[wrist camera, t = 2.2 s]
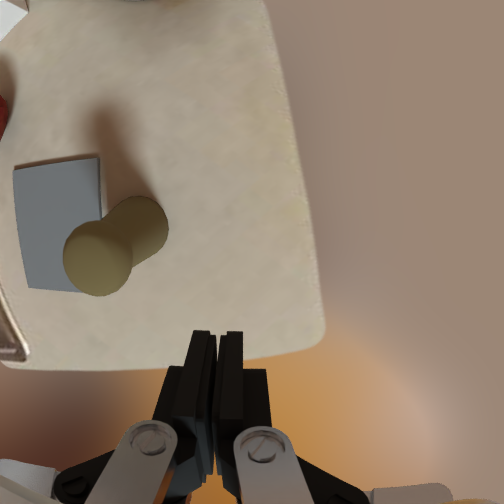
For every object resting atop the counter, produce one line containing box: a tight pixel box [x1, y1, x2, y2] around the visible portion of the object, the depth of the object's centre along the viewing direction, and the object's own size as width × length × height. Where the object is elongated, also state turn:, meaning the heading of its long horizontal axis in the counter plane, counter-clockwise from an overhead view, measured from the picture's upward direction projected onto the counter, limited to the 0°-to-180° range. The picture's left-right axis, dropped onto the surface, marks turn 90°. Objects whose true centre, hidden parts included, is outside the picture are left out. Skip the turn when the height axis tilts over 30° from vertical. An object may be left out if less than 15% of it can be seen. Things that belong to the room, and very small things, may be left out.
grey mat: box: [13, 158, 110, 295], centre depth 27 cm, size 14×12×1 cm
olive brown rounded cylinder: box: [63, 196, 169, 296], centre depth 22 cm, size 6×6×11 cm
